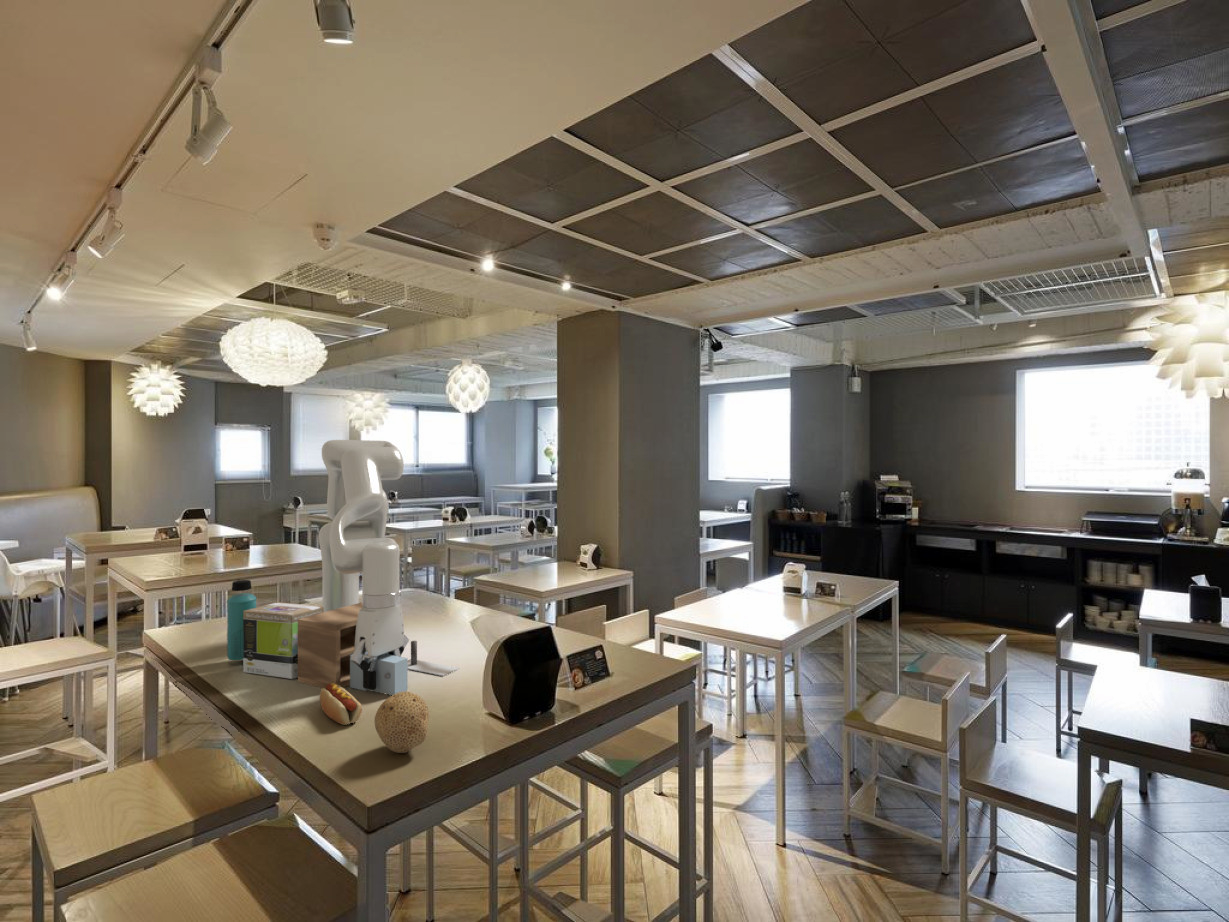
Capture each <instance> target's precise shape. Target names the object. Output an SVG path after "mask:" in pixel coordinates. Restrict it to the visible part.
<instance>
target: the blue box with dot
mask: <svg viewBox="0 0 1229 922" xmlns="http://www.w3.org/2000/svg"><path fill="white" fill-rule="evenodd" d="M352 655H353V654H352ZM352 655H350V685H349V688H351V689H354V690H361V691H364V692H366V691H369V690H370V689H366V688H364V687H363V670H361V669H360V667H358V666H357V665H356V664H355V663H354V662H352V661H351V657H352ZM361 658H363V655H362V656H361ZM408 660H409V659H408V657H402V656H401V657H399V656H394V655H388V654H383V655H380V656H377V658H376V662H375V666H374V670H375V671H376V689H375V690H372V691H371V692H373V691H376V692H375V693H378V692H382V693H386V694H385V695H387V694H389V695H388V696H391V695H394V694H396V693H398V692H404V691H406V690H408V688H409V687H408V684H409V681H408V671H409V670H408ZM369 662H370V658H369V659H368V663H369ZM406 692H407V691H406ZM382 693H381V694H382Z"/></svg>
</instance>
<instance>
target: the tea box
mask: <svg viewBox="0 0 1229 922" xmlns="http://www.w3.org/2000/svg"><path fill="white" fill-rule="evenodd" d="M323 612H324V606H323V605H314V604H313V605H312V604H303V603H301V604H300V603H291V602H272V603H270V604H265V605H261V606H258V607H257V606H256V608H253V609H249V610H245V611H243V660H242V662H243V664H242V665H243V673H247V674H254V675H261V676H268V677H276V678H284V679H288V680H289V679H290V680H294V679H296V678H298V619H301V618H304V617H308V616H312V615H316V614H320V613H323Z"/></svg>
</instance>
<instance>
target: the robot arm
mask: <svg viewBox="0 0 1229 922" xmlns="http://www.w3.org/2000/svg"><path fill="white" fill-rule="evenodd" d="M321 458H322V462H323V465H324V467H325V468H326V471H327V475H328V480H327V481H328V483H327V484H328V485H327V500H326V512H327V516H328V517H329V519H331V520H332V522H329V523H326V524H324V525H323V526H322V527H321V528H320V529H319V533H318V542H319V543H318V544H319V548H320V554H321V565H322V567H321V568H322V571H321V572H322V573H321V574H322V577H321V578H322V586H321V587H322V591H321V593H322V595H321V596H322V606H324V612H327V611H331V610H335V609H339V608H342V607H346V606H350V605H354V604H357V603H360V597H359V595H360V593H359V591H360V587H359V585H360V584H359V583H360V582H359V581H360V577H359V576H360V575H359V574H361V577H362V579H361V580H362V583H361V584H362V586H361V587H362V590H361V591H362V594H361V595H362V598H361V599H362V600H361V601H362V609H360V610H359V613H358V618H357V624H356V633H355V652H354V653H353V655H352V657H351V661H352V662H354V663H355V664H356V665H357V666H358V667H360V669H361V670H363V687H364V688H366V689H370V690H375V689H376V671H375V670H374V666H375V662H376V658H377V656H380V655H383V654H385V653H387V654H388V655H394V656H399V657H402V654H403V653H404V650H405V648H406V646H407V645H408V643H409V641H410V638H408V637H407V635H406V634H405V624H404V615H403V610H402V609H403V608H402V604H401V603H400V597H401V595H402V591H400V558H401V556H400V554H401V551H400V545H399V544H398V543H397V541H396V540H395V539H393V538H390V537H386V528H387V520H388V519H387V518H388V507H389V505H388V504H389V502H388V496H387V493H386V492H385V490H384V489H383V483H382V481H396V480H399V479H400V478H401V477H402V475H403V473H404V466H405V465H404V460H403V456H402V453H401V452H400V450H399V449H398V447H397V446H395V445H394V444H393V443H392V442H389V441H386V440H363V439H362V440H361V439H331V440H327V441H326V442H324V443H323V444H322V448H321ZM362 655H363V658H361V656H362ZM369 658H370V662H369V663H368V659H369Z"/></svg>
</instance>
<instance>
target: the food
mask: <svg viewBox="0 0 1229 922" xmlns="http://www.w3.org/2000/svg"><path fill="white" fill-rule="evenodd" d="M319 701H320V705H321V709H322V711H323V712H324V714H325V715H326V716H328V717H329V718H330V719H331V720H333V721H334V722H336V723H338V724H340V725H342V724H343V726H348V725H351V724H350V723H353V724H355V723H356V722H358V720H359V719H360V718H361V714H362V713H363V708H362V704H361V702H359V701H358V700H357V699H356V698H355V696H353V695H352V694H351V693H350V692H349V691H348V690H346V688H345V687H344V688H342V687H341V686H339V685H336V684H334V683H333V684H332V683H330V684H328V685H327V686H326V688H322V687H321V689H320V696H319ZM354 722H355V723H354ZM347 724H348V725H347Z"/></svg>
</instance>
